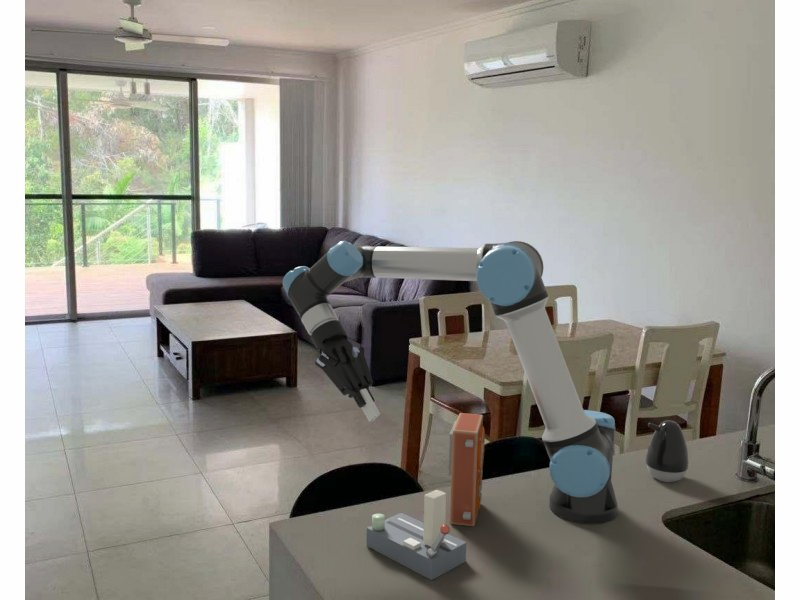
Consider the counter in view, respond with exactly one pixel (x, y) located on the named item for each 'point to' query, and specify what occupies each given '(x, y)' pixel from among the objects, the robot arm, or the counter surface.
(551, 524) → the counter surface
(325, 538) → the counter surface
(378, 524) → the push button
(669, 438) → the pump dispenser
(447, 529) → the toggle lever
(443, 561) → the switch console
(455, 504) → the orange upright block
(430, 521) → the cream rectangular block
